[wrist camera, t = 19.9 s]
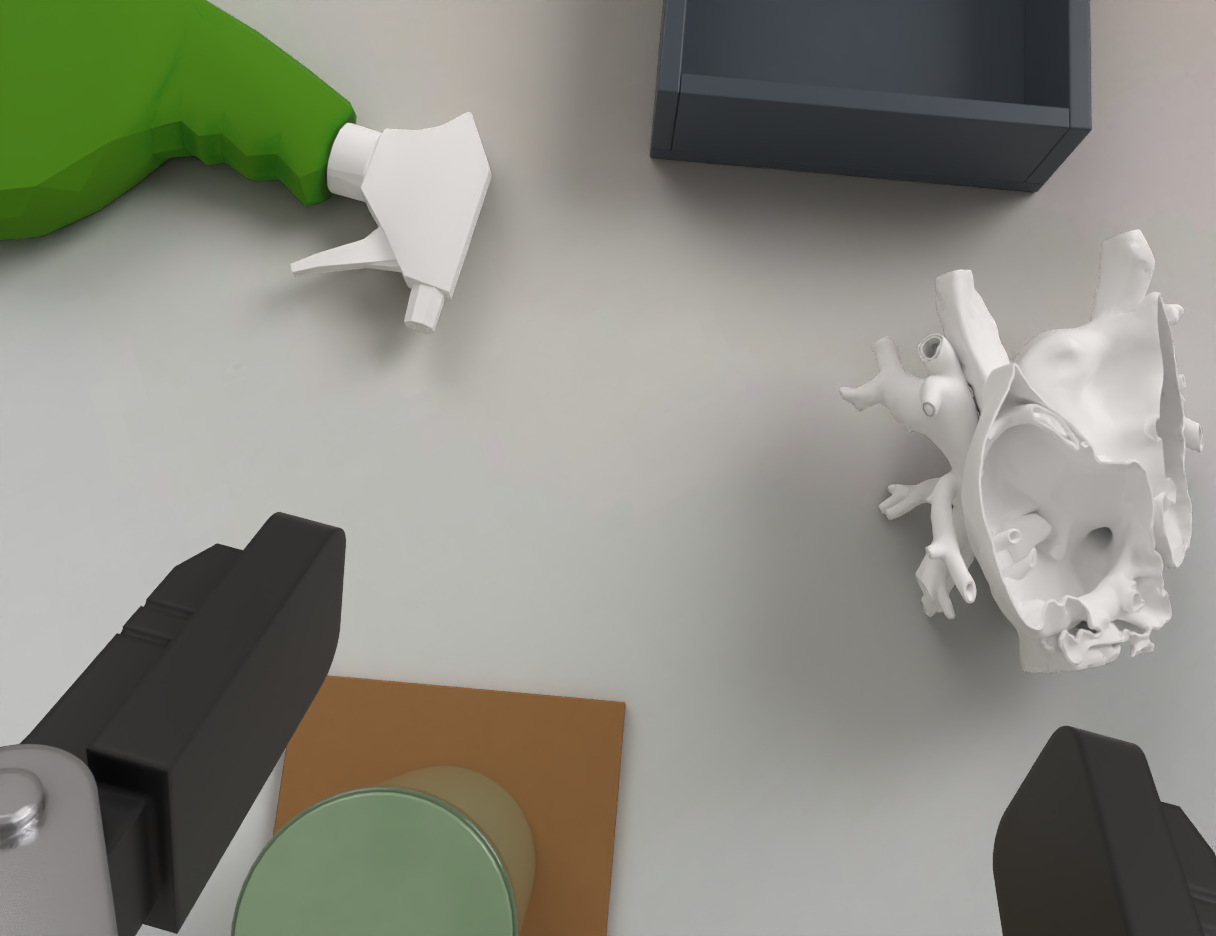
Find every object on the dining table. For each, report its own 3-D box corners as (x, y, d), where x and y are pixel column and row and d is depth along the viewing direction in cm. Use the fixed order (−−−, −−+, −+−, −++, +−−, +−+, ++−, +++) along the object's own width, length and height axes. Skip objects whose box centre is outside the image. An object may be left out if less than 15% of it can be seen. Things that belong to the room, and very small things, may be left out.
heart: (988, 731, 27) (871, 278, 27) (860, 695, 33) (767, 331, 34) (1348, 604, 30) (1242, 198, 30) (1166, 594, 36) (1079, 261, 37)
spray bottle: (-124, -90, 38) (530, 102, 37) (-266, 176, 36) (428, 387, 35) (-181, -155, 35) (526, 52, 34) (-340, 130, 33) (415, 359, 32)
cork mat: (625, 702, 33) (625, 702, 32) (595, 1058, 30) (595, 1063, 30) (300, 673, 33) (297, 672, 32) (247, 1027, 30) (243, 1031, 30)
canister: (549, 770, 32) (532, 799, 22) (528, 979, 30) (501, 1109, 21) (355, 752, 32) (253, 774, 22) (327, 961, 30) (204, 1083, 21)
